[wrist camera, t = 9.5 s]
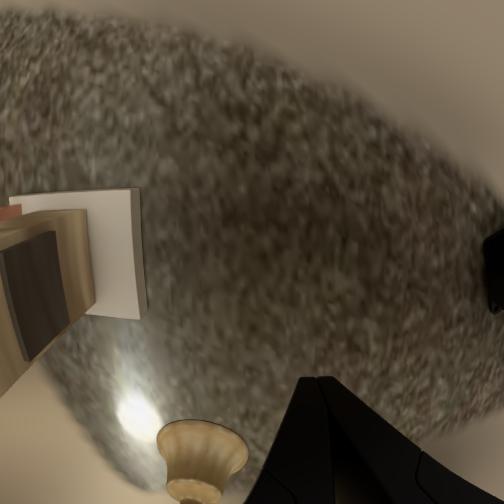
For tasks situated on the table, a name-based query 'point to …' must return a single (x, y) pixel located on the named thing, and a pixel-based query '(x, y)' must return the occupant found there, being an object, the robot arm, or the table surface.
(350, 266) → the table surface
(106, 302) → the base
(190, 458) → the hand bell
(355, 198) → the table surface
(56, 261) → the tan tall block
